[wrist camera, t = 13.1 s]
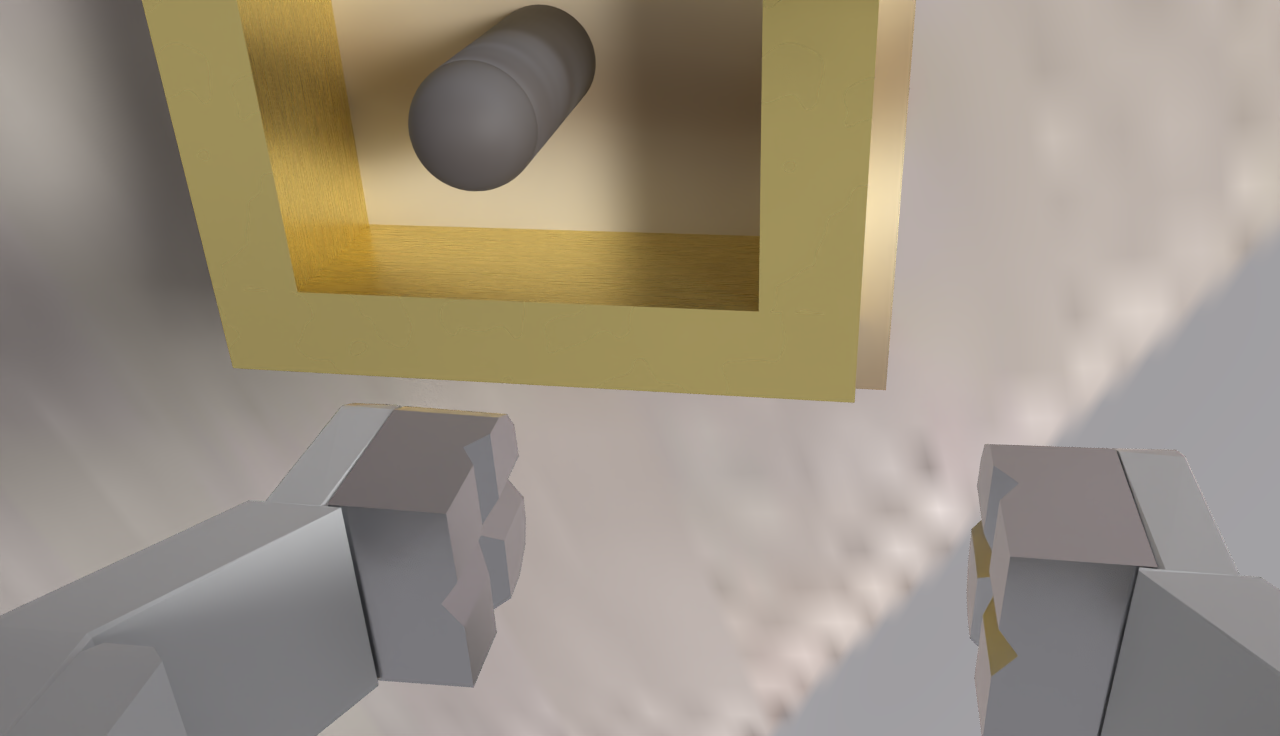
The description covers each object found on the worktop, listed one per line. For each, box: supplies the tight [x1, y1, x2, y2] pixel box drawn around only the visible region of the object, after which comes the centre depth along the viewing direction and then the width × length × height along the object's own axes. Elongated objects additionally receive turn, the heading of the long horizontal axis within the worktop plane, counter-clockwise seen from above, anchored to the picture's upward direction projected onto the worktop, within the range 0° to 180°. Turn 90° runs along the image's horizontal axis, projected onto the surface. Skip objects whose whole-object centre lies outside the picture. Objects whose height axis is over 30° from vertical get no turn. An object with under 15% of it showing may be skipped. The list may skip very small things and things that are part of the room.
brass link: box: [142, 0, 879, 403], centre depth 23 cm, size 12×14×4 cm
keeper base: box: [331, 0, 916, 390], centre depth 23 cm, size 16×16×8 cm
